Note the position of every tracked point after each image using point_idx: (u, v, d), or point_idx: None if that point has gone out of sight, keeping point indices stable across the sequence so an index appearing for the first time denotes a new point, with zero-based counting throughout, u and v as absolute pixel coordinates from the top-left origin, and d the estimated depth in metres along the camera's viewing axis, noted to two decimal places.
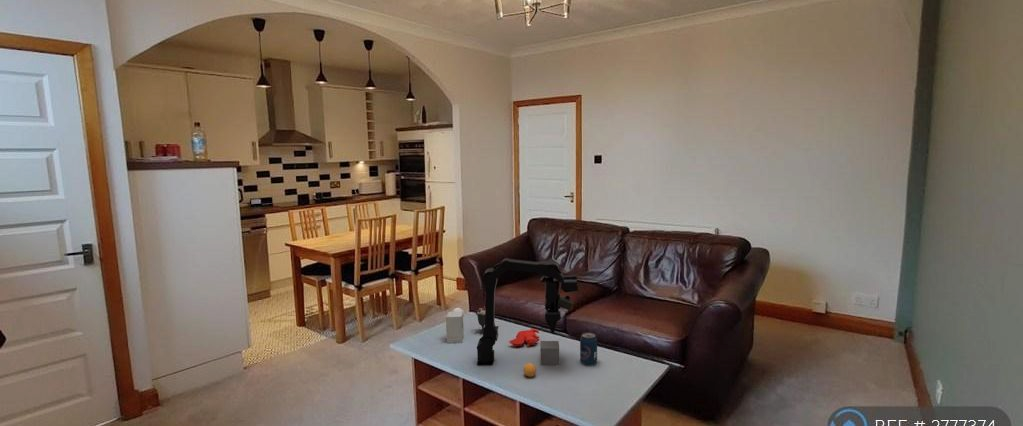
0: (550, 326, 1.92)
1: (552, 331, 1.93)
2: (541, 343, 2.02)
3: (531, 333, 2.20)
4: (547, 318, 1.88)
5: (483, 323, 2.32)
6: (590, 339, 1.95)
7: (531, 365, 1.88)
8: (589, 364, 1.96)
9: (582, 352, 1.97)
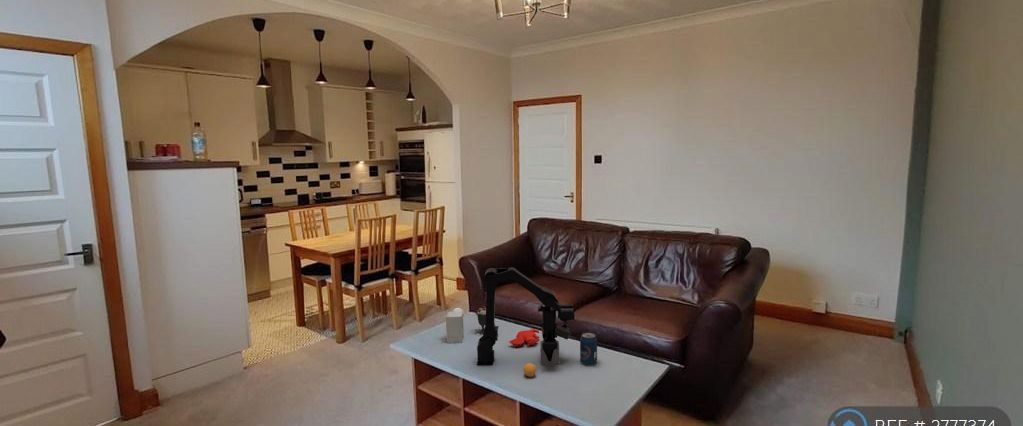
0: (547, 354, 1.96)
1: (549, 359, 1.97)
2: (541, 343, 2.02)
3: (531, 333, 2.20)
4: (544, 348, 1.91)
5: (483, 323, 2.32)
6: (590, 339, 1.95)
7: (531, 365, 1.88)
8: (589, 364, 1.96)
9: (582, 352, 1.97)
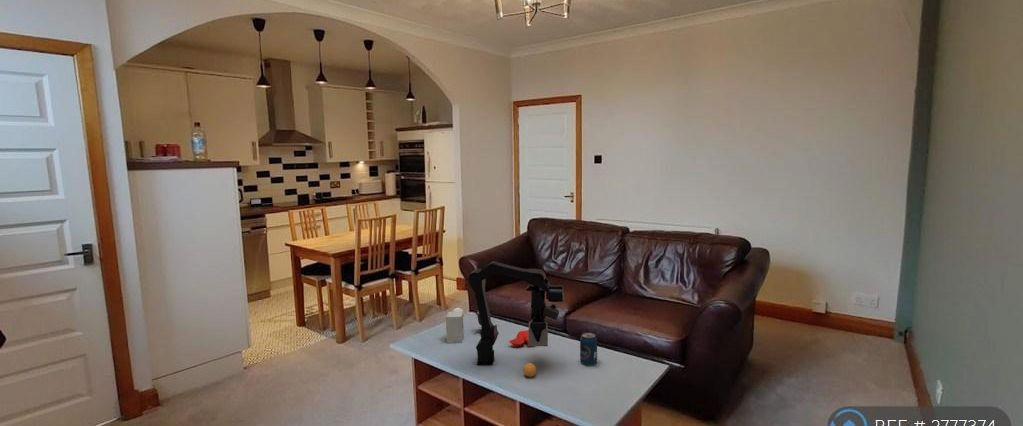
0: (535, 335, 1.92)
1: (537, 339, 1.93)
2: (529, 324, 1.98)
3: None
4: (532, 327, 1.87)
5: None
6: (590, 339, 1.95)
7: (531, 365, 1.88)
8: (589, 364, 1.96)
9: (582, 352, 1.97)
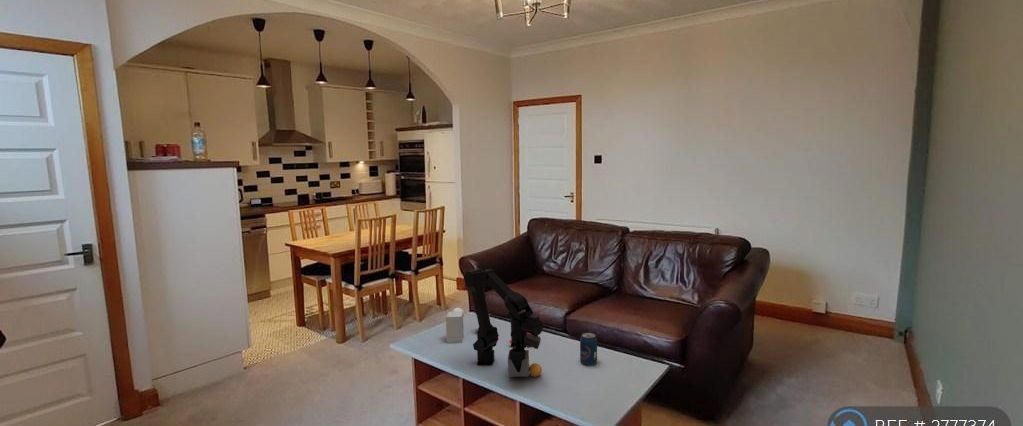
0: (515, 365, 1.83)
1: (517, 369, 1.84)
2: None
3: None
4: (511, 358, 1.79)
5: None
6: (590, 339, 1.95)
7: (540, 368, 1.88)
8: (589, 364, 1.96)
9: (582, 352, 1.97)
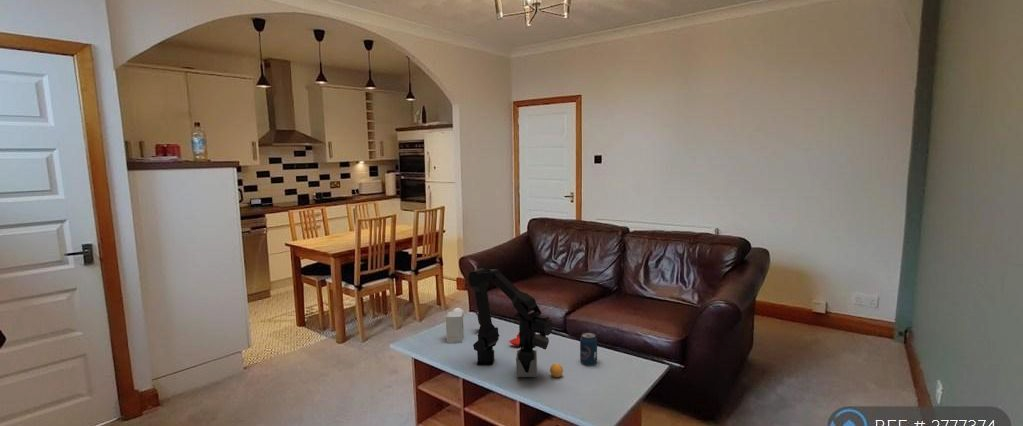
0: (524, 365, 1.83)
1: (526, 370, 1.84)
2: (517, 353, 1.90)
3: None
4: (520, 358, 1.79)
5: None
6: (590, 339, 1.95)
7: None
8: (589, 364, 1.96)
9: (582, 352, 1.97)
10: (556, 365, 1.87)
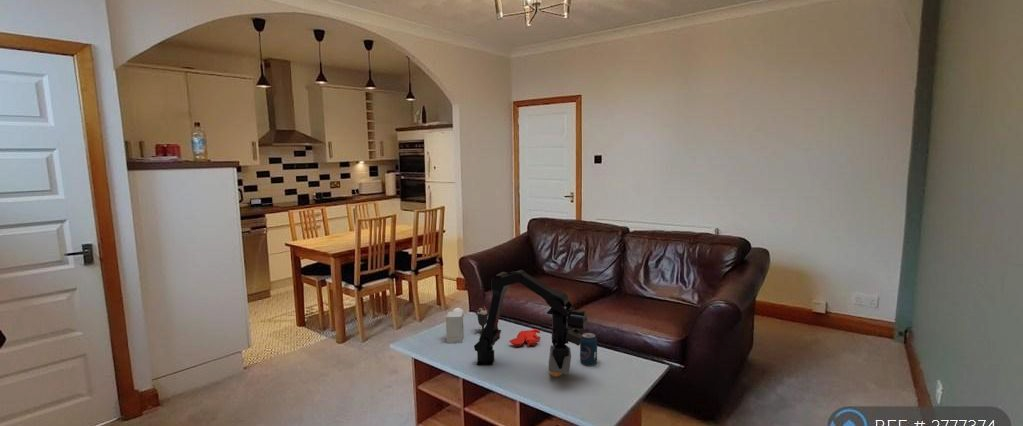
0: (557, 361, 1.82)
1: (559, 366, 1.83)
2: (551, 348, 1.88)
3: (532, 333, 2.20)
4: (555, 354, 1.78)
5: (483, 323, 2.32)
6: (590, 339, 1.95)
7: (550, 372, 1.88)
8: (589, 364, 1.96)
9: (582, 352, 1.97)
10: None
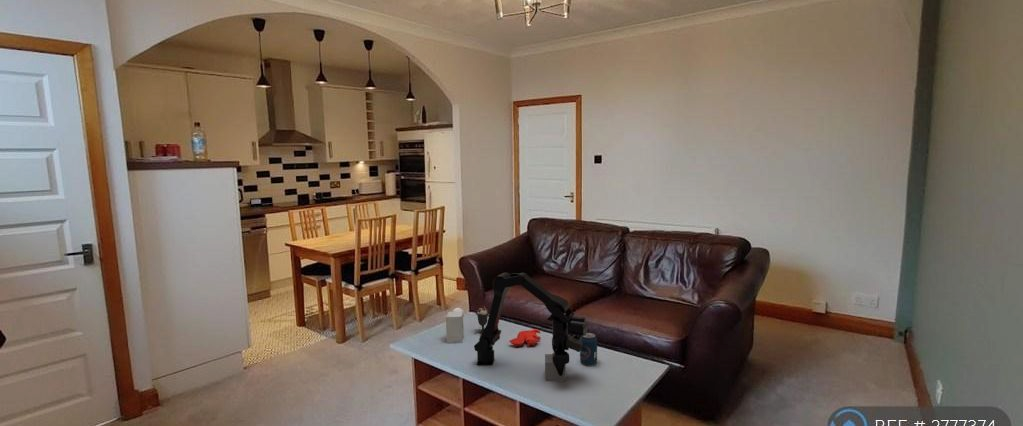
0: (558, 369, 1.82)
1: (560, 373, 1.83)
2: (546, 357, 1.89)
3: (532, 333, 2.20)
4: (555, 361, 1.78)
5: (483, 323, 2.32)
6: (590, 339, 1.95)
7: None
8: (589, 364, 1.96)
9: (582, 352, 1.97)
10: None
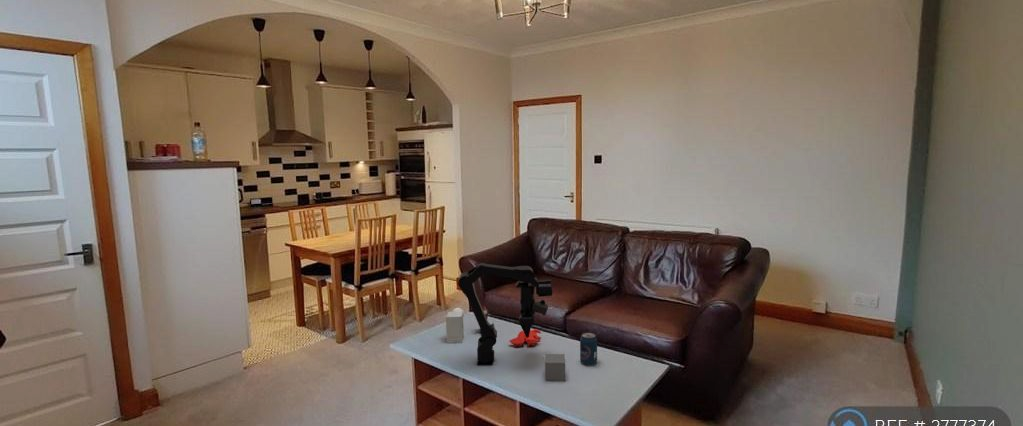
0: (525, 330, 1.96)
1: (526, 335, 1.96)
2: (546, 357, 1.89)
3: (532, 333, 2.20)
4: (521, 323, 1.91)
5: None
6: (590, 339, 1.95)
7: None
8: (589, 364, 1.96)
9: (582, 352, 1.97)
10: None
